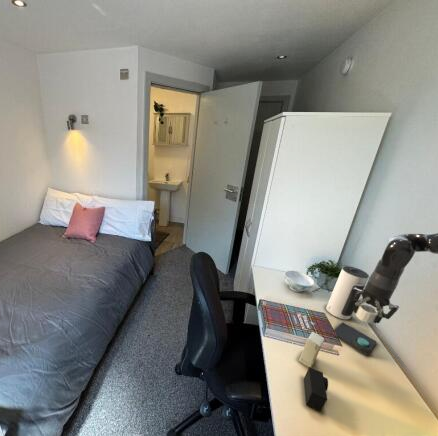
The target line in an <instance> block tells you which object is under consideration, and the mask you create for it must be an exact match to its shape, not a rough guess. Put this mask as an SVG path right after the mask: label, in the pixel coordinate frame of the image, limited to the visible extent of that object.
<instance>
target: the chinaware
mask: <svg viewBox="0 0 438 436" xmlns="http://www.w3.org/2000/svg"><path fill="white" fill-rule="evenodd" d="M284 280H285V283H286V284H287V285H288V288H289V289H290V290H292V291H294V292H297V293H301V292H304V291H308V290H310V289H311V288H312V287H313V286H314V284H315V281H314V279H313V278H312V277H311V276H310V275H308V274H306V273H304V272H302V271H301V272H300V271H299V270H287V271H285V272H284Z"/></svg>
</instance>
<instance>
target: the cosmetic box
mask: <svg viewBox="0 0 438 436" xmlns="http://www.w3.org/2000/svg"><path fill="white" fill-rule="evenodd" d="M324 341H325V338H324V337H323V336H321V335H320V334H318V333H316V332H315V331H311V333H310V335H309V336H308V338H307V339H306V342H305V345H304V347H303V349H302V352H301V354H300V357H299V359H298V361H299V362H300V363H301V364H303V365H304V366H306V367H308V368H309V367H311V368H313V365H314V363H315V361H316V359H317V357H318V355H319V352H320V350H321V348H322V345H323V343H324Z"/></svg>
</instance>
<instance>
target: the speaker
mask: <svg viewBox="0 0 438 436" xmlns="http://www.w3.org/2000/svg"><path fill="white" fill-rule="evenodd" d="M369 277H370V275H369V273H368V272H366V271H364V270H362V269H360V268H358V267H354V266H349V265H344V266H342V268H341V270H340V273H339V274H338V277H337V280H336V283H335V285H334V287H333V290H332V292H331V294H330V297H329V300H328V302H327V305H326V307H325V308H326V311H327V312H328V313H329V314H330V315H332V316H334V317H335V318H338V319H341V320H344V321H345V320H350V319H351V317H352V315H353V313H354V311H353V307H354V305H355V304H354V303H353V302H351V301H350V298H351V293H352V289H353V288H355V287H357V288H358V289H359V290H364V289H365V286H366V284H367V282H368V280H369ZM361 297H362V295H361V293H359V294H357V296H356V300H360V299H361Z"/></svg>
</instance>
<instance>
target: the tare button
mask: <svg viewBox="0 0 438 436" xmlns="http://www.w3.org/2000/svg"><path fill="white" fill-rule="evenodd" d="M357 343H358V344H360V345H361V346H363V347H368V345H369V342H368V341H367V340H365V339H363V338H358V340H357Z"/></svg>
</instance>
